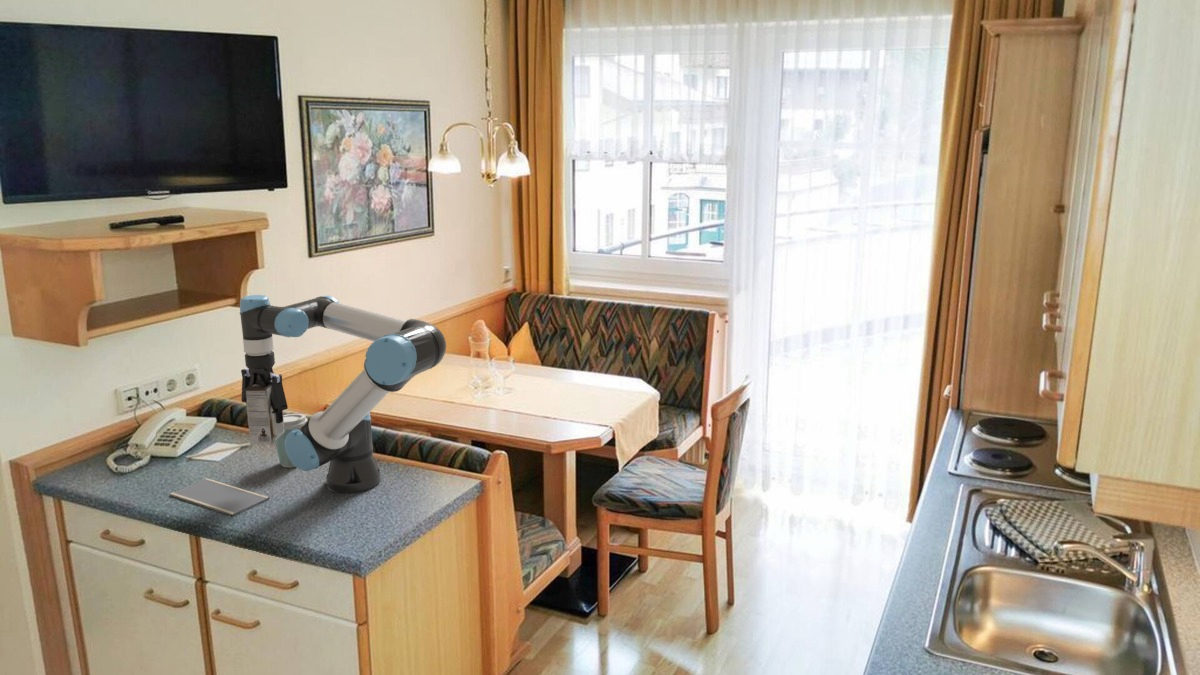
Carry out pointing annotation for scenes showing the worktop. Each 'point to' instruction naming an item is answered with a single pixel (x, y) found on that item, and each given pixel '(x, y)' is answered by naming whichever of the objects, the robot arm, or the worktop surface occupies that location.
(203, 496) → the felt mat
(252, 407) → the coffee box
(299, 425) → the disposable coffee cup
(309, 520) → the worktop surface
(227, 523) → the worktop surface
